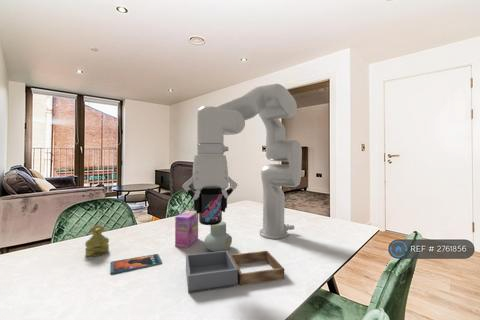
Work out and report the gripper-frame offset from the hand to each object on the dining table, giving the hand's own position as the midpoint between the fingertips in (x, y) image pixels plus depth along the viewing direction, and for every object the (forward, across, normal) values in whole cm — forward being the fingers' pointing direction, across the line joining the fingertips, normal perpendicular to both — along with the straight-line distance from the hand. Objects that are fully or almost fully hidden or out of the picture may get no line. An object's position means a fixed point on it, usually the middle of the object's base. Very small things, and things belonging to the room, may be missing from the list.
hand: (210, 211), depth 69 cm
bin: (+19, 0, 0) cm, 19 cm away
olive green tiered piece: (+20, +37, -27) cm, 50 cm away
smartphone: (+20, +22, -14) cm, 33 cm away
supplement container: (+3, 0, 0) cm, 3 cm away
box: (+20, +5, -29) cm, 36 cm away
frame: (+19, -14, 0) cm, 24 cm away
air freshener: (+20, -6, -19) cm, 28 cm away
